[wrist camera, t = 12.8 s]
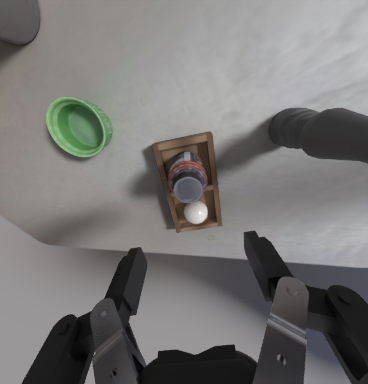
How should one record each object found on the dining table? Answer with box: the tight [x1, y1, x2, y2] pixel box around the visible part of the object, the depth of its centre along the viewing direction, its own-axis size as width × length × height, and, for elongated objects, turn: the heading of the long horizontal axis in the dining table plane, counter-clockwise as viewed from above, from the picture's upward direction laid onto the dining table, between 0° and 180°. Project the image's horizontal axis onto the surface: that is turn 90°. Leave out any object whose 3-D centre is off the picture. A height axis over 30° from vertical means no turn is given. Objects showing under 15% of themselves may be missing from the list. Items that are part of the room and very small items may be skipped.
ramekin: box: [46, 97, 112, 157], centre depth 27 cm, size 9×9×4 cm
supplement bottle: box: [168, 151, 207, 203], centre depth 26 cm, size 6×6×11 cm
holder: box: [152, 131, 222, 233], centre depth 33 cm, size 10×20×3 cm, turn 11°
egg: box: [184, 200, 208, 224], centre depth 33 cm, size 5×5×5 cm
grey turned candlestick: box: [269, 108, 368, 163], centre depth 18 cm, size 6×6×25 cm
